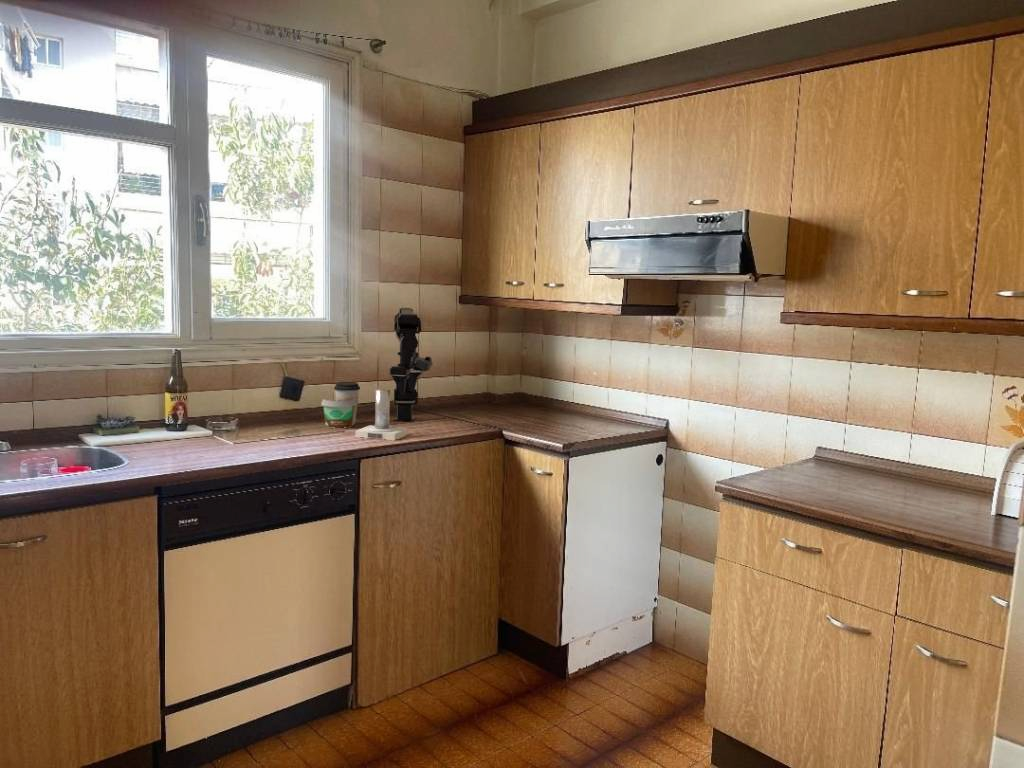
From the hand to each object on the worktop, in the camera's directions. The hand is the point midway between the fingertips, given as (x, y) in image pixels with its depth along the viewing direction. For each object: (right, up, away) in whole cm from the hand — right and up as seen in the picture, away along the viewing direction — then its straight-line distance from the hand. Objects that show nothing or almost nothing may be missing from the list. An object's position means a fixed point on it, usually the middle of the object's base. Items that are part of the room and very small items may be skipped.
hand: (407, 393), depth 266 cm
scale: (-7, -14, -12) cm, 20 cm away
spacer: (-7, -12, -12) cm, 18 cm away
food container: (-24, -13, 0) cm, 27 cm away
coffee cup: (-23, -12, +8) cm, 27 cm away
